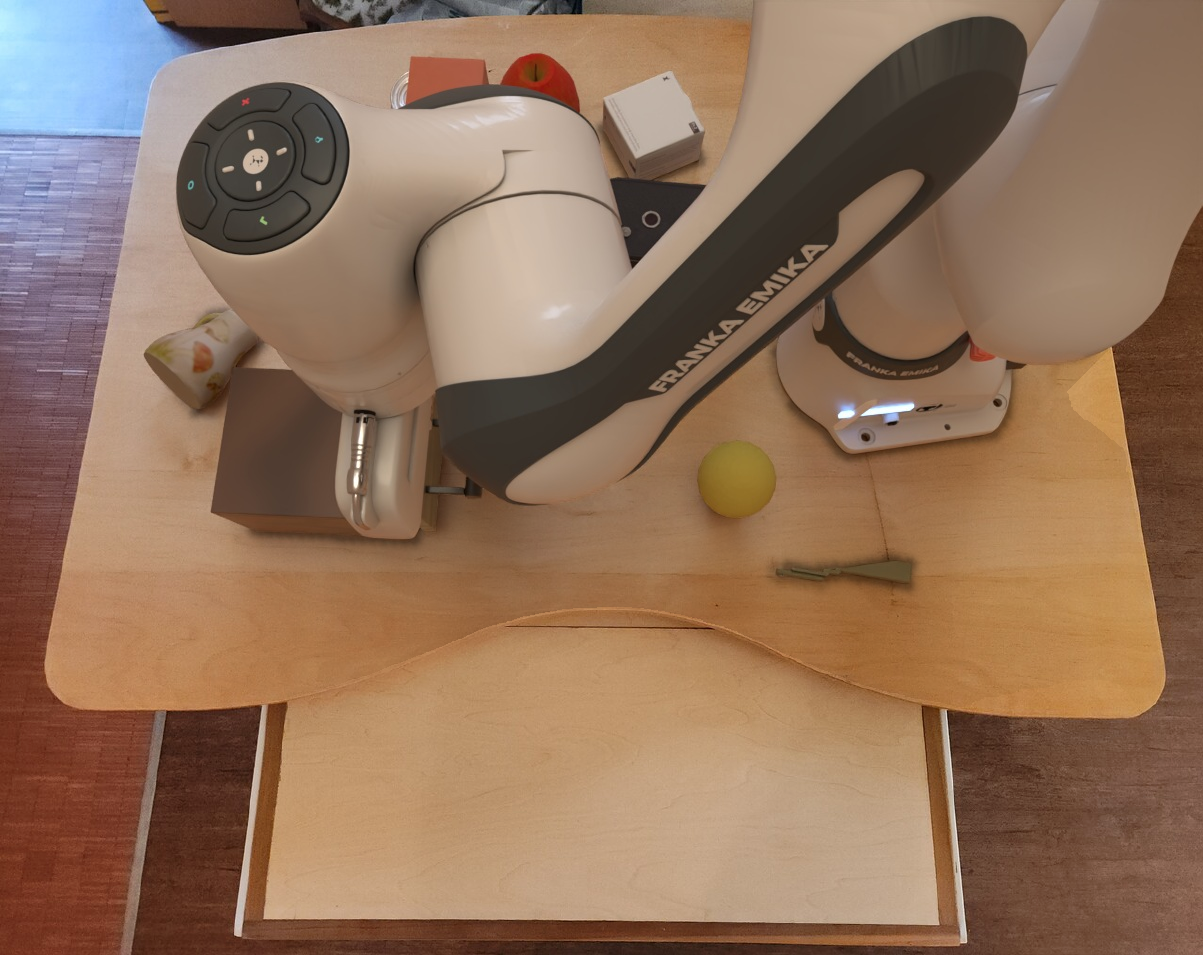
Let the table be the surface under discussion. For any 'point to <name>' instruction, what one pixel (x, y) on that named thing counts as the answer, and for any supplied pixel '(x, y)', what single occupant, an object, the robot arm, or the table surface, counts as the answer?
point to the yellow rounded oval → (736, 479)
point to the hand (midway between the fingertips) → (422, 411)
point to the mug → (201, 357)
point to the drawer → (433, 479)
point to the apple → (543, 78)
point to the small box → (653, 127)
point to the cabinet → (278, 456)
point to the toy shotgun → (858, 571)
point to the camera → (650, 210)
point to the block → (443, 75)
